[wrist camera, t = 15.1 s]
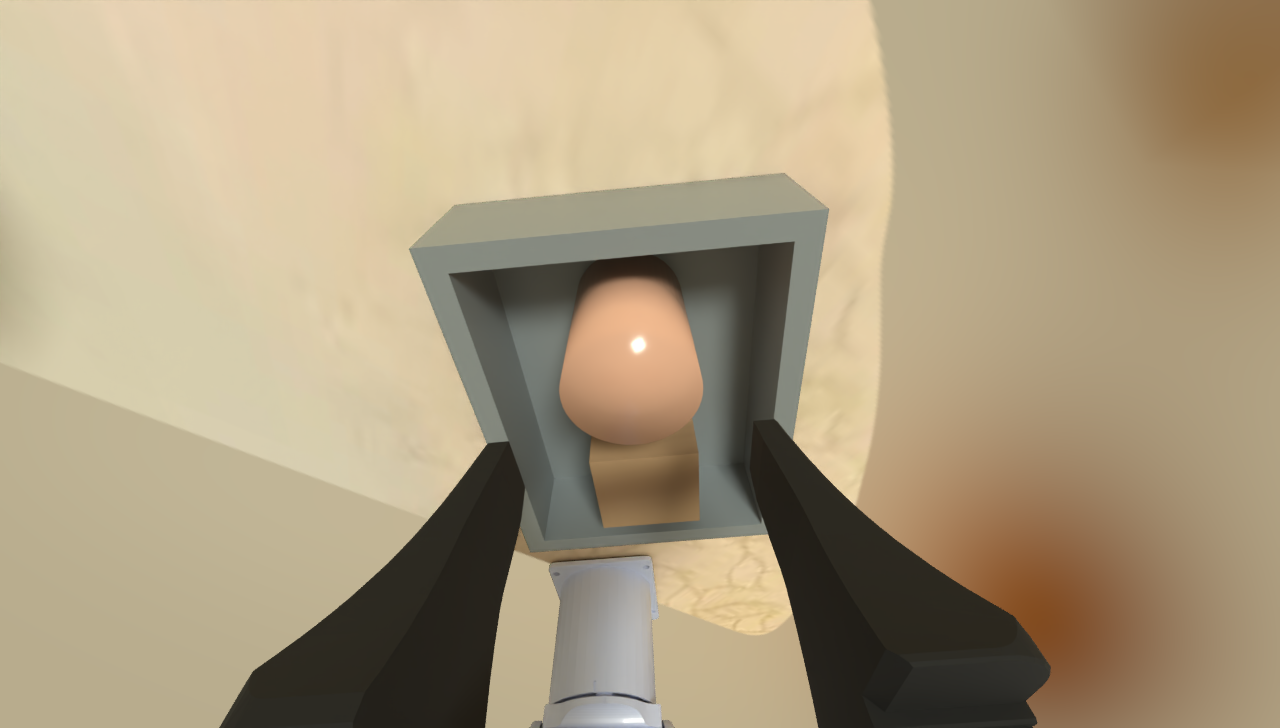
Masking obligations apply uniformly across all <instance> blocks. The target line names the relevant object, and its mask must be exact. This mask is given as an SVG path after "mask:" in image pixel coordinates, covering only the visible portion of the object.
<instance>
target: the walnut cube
mask: <svg viewBox="0 0 1280 728" xmlns="http://www.w3.org/2000/svg"><path fill="white" fill-rule="evenodd" d="M589 464H590V469H591V473H592V477H593V482H594V486H595V491H596V495H597V500H598V504H599V509H600V513H601V518H602V522H603V527H604V528H610V527H623V526H635V525H648V524H661V523H673V522H686V521H698V520H700V506H699V452H698V447H697V442H696V436H695V431H694V425H693V420H692V419H691V420H690V421H689V422H688V423H687V424H686V425H685V426H684V427H683V428H681V429H680V430H679V431H677V432H675V433H674V434H672V435H670V436H668V437H666V438H664V439H661V440H658V441H655V442H651V443H646V444H638V445H623V444H615V443H610V442H606V441H603V440H600V439H597V438H595V437H593V436H591V446H590V458H589Z"/></svg>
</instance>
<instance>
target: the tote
mask: <svg viewBox="0 0 1280 728" xmlns="http://www.w3.org/2000/svg"><path fill="white" fill-rule="evenodd" d="M828 213H829V208H827V207H826V206H825V205H824V204H822V203H821V202H820V201H819V200H817V199H816V198H815V197H814V196H812V195H811V194H810V193H809V192H807V191H806V190H805V189H804V188H802V187H801V186H800V185H799V184H797V183H796V182H795V181H794V180H792V179H791V178H790V177H789V176H787V175H786V174H785V173H781V174H771V175H761V176H750V177H740V178H730V179H719V180H709V181H699V182H688V183H678V184H668V185H657V186H647V187H637V188H626V189H616V190H606V191H596V192H585V193H575V194H565V195H554V196H544V197H534V198H523V199H513V200H503V201H492V202H482V203H472V204H461V205H454V206H453V207H452V208H451V209H450V210H449V211H448V212H447V213H446V214H445V215H444V216H443V217H442V218H441V219H440V220H439V221H437V222H436V223H435V224H434V225H433V226H432V227H431V228H430V229H429V230H428V231H427V232H426V233H425V234H424V235H423V236H422V237H421V238H420V239H419V240H418V241H417V242H415V243H414V244H413V245H412V246H411V247H410V248H409V250H410V253H411V255H412V258H413V260H414V263H415V265H416V268H417V270H418V273H419V275H420V278H421V280H422V283H423V285H424V288H425V290H426V293H427V295H428V298H429V300H430V303H431V305H432V308H433V310H434V313H435V315H436V318H437V320H438V323H439V325H440V328H441V330H442V333H443V335H444V338H445V340H446V343H447V345H448V348H449V350H450V353H451V355H452V358H453V360H454V363H455V365H456V368H457V370H458V373H459V375H460V377H461V380H462V382H463V385H464V387H465V390H466V392H467V395H468V397H469V400H470V402H471V405H472V407H473V410H474V412H475V415H476V417H477V420H478V422H479V425H480V427H481V430H482V432H483V435H484V437H485V440H486V442H487V444H488V443H493V442H505V441H509V443H510V446H511V448H512V451H513V454H514V457H515V459H516V462H517V465H518V468H519V471H520V473H521V476H522V479H523V482H524V485H525V493H524V503H523V511H522V518H521V523H520V527H521V530H522V532H523V535H524V537H525V540H526V542H527V545H528V547H529V550H530V552H544V551H557V550H570V549H583V548H596V547H609V546H622V545H635V544H648V543H661V542H674V541H687V540H700V539H713V538H726V537H739V536H752V535H765V534H768V532H767V529H766V526H765V524H764V521H763V518H762V515H761V512H760V509H759V506H758V503H757V500H756V496H755V491H754V487H753V482H752V478H751V473H750V469H749V468H750V456H751V444H752V432H753V421H757V420H769V419H775V420H776V421H777V422H778V423H779V424H780V425H781V426H782V428H783V429H784V430H785V431H786V433H787V434H788V435H789V436H790V438H791V439H792V440H793V435H794V428H795V422H796V416H797V409H798V403H799V396H800V390H801V384H802V377H803V371H804V365H805V358H806V352H807V346H808V339H809V333H810V327H811V320H812V314H813V308H814V301H815V295H816V289H817V282H818V276H819V270H820V263H821V257H822V251H823V244H824V238H825V232H826V225H827V219H828ZM643 255H654V256H656V257H658V258H659V259H661V260H662V261H664V262H665V263H666V264H667V265H668V266H669V267H670V268H671V269H672V270H673V272H674V273H675V275H676V276H677V278H678V281H679V283H680V287H681V291H682V295H683V299H684V303H685V308H686V312H687V316H688V320H689V325H690V329H691V333H692V337H693V341H694V346H695V350H696V354H697V358H698V363H699V367H700V371H701V375H702V380H703V396H702V400H701V403H700V406H699V408H698V410H697V412H696V413H695V415H694V416H693V417H692V420H693V425H694V431H695V436H696V442H697V447H698V452H699V506H700V520H698V521H686V522H673V523H661V524H648V525H635V526H623V527H610V528H604V527H603V522H602V518H601V513H600V509H599V504H598V500H597V495H596V491H595V486H594V482H593V477H592V473H591V469H590V464H589V458H590V446H591V435H589V434H587V433H586V432H584V431H582V430H581V429H580V428H579V427H577V426H576V425H575V424H574V423H573V422H572V421H571V420H570V418H569V417H568V415H567V414H566V412H565V410H564V408H563V406H562V403H561V400H560V394H559V385H560V379H561V374H562V368H563V363H564V358H565V352H566V347H567V342H568V336H569V331H570V326H571V320H572V315H573V310H574V304H575V299H576V294H577V288H578V285H579V282H580V279H581V277H582V275H583V274H584V272H585V271H586V270H587V268H588V267H589V266H590V265H591V264H592V263H594V262H595V261H596V260H600V259H611V258H622V257H632V256H643Z"/></svg>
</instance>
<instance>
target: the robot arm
mask: <svg viewBox="0 0 1280 728" xmlns="http://www.w3.org/2000/svg"><path fill="white" fill-rule="evenodd" d="M749 469H750V473H751V478H752V482H753V487H754V491H755V496H756V500H757V503H758V506H759V509H760V512H761V515H762V518H763V521H764V524H765V526H766V529H767V532H768V535H769V538H770V541H771V543H772V546H773V549H774V552H775V555H776V558H777V561H778V563H779V566H780V569H781V572H782V575H783V578H784V582H785V585H786V588H787V592H788V596H789V600H790V604H791V608H792V612H793V616H794V620H795V624H796V628H797V632H798V637H799V641H800V645H801V650H802V654H803V658H804V662H805V667H806V671H807V676H808V680H809V685H810V689H811V694H812V699H813V703H814V708H815V713H816V718H817V723H818V727H819V728H1033V727H1032V726H1035V725H1036V724H1037V720H1036V717H1035V716H1034V714H1033V712H1032V711H1031V709H1030V707H1029V706H1028V704H1027V702H1026V700H1027V699H1028V698H1029V697H1030V696H1032V695H1033V694H1034V693H1035V692H1036V691H1037V690H1038V689H1039V688H1040V687H1042V686H1043V684H1044V683H1045V682H1046V681H1047V680H1048V678H1049V676H1050V669H1051V667H1050V665H1049V664H1048V662H1047V661H1046V659H1045V658H1044V656H1043V655H1042V653H1041V652H1040V651H1039V649H1038V648H1037V646H1036V644H1035V643H1034V642H1033V640H1032V639H1031V637H1030V636H1029V635H1028V633H1027V632H1026V631H1025V630H1024V628H1022V626H1021V625H1020V624H1019V622H1018V621H1017V620H1016V618H1015V617H1014V616H1013V615H1010V614H1009V613H1008V612H1006V611H1004V610H1002V609H1001V608H999V607H997V606H996V605H994V604H992V603H990V602H989V601H987V600H985V599H984V598H982V597H980V596H979V595H977V594H975V593H973V592H972V591H970V590H968V589H966V588H965V587H963V586H962V585H960V584H959V583H957V582H956V581H954V580H952V579H951V578H949V577H948V576H946V575H945V574H943V573H942V572H940V571H939V570H937V569H936V568H934V567H932V566H931V565H930V564H928V563H927V562H926V561H924V560H923V559H922V558H920V557H919V556H917V555H916V554H914V553H913V552H912V551H910V550H909V549H907V548H906V547H905V546H903V545H902V544H901V543H899V542H898V541H897V540H895V539H894V538H893V537H892V536H890V535H889V534H888V533H887V532H885V531H884V530H883V529H882V528H880V527H879V526H878V525H877V524H876V523H874V522H873V521H872V520H871V519H869V518H868V517H867V516H866V515H865V514H864V513H863V512H862V511H860V510H859V509H858V508H857V507H856V506H855V505H854V504H853V503H852V502H850V501H849V500H848V499H847V498H846V497H845V496H844V495H843V494H842V493H841V492H840V491H839V490H838V489H837V488H836V487H835V486H834V485H833V484H832V483H831V482H830V481H829V480H828V479H827V478H826V477H825V476H824V475H823V474H822V473H821V472H820V471H819V469H818V468H817V467H816V466H815V465H814V464H813V463H812V462H811V461H810V460H809V459H808V457H807V456H806V455H805V454H804V453H803V452H802V451H801V449H800V448H799V447H798V446H797V445H796V444H795V442H794V441H793V440H792V439H791V438H790V436H789V435H788V434H787V433H786V431H785V430H784V429H783V428H782V426H781V425H780V424H779V423H778V422H777V421H776V420H775V419H769V420H757V421H753V432H752V444H751V456H750V468H749ZM524 493H525V485H524V482H523V479H522V476H521V473H520V471H519V468H518V465H517V462H516V459H515V457H514V454H513V451H512V448H511V446H510V443H509V441H505V442H493V443H488V444H487V445H486V447H485V448H484V449H483V451H482V452H481V453H480V455H479V456H478V457H477V459H476V460H475V461H474V463H473V464H472V465H471V467H470V468H469V469H468V471H467V472H466V473H465V475H464V476H463V477H462V479H461V480H460V481H459V483H458V484H457V485H456V487H455V488H454V489H453V490H452V492H451V493H450V494H449V495H448V497H447V498H446V499H445V501H444V502H443V503H442V504H441V506H440V507H439V508H438V509H437V510H436V511H435V513H434V514H433V515H432V516H431V517H430V518H429V520H428V521H427V522H426V523H425V524H424V525H423V527H422V528H421V529H420V530H419V531H418V532H417V534H416V535H415V536H414V537H413V538H412V539H411V540H410V541H409V542H408V543H407V544H406V545H405V546H404V547H403V549H402V550H401V551H400V552H399V553H398V554H397V555H396V556H395V557H394V558H393V559H392V560H391V561H390V562H389V563H388V564H387V565H386V566H385V567H383V568H382V569H381V570H380V571H379V572H378V573H377V574H376V575H375V576H374V577H373V578H371V579H370V580H369V581H368V582H367V583H366V584H365V585H364V586H363V587H361V588H360V589H359V590H358V591H357V592H356V593H355V594H354V595H353V596H351V597H350V598H349V599H348V600H347V601H346V602H344V603H343V604H342V605H341V606H339V607H338V608H337V609H336V610H335V611H333V612H332V613H331V614H330V615H328V616H327V617H326V618H325V619H323V620H322V621H321V622H320V623H318V624H317V625H316V626H315V627H313V628H312V629H311V630H309V631H308V632H307V633H305V634H304V635H303V636H301V637H300V638H299V639H297V640H296V641H295V642H293V643H292V644H290V645H289V646H288V647H286V648H285V649H284V650H282V651H281V652H279V653H278V654H277V655H275V656H274V657H272V658H271V659H270V660H268V661H267V662H266V663H264V664H263V665H261V666H260V667H258V668H257V669H255V670H254V671H253V672H252V674H251V675H250V677H249V679H248V680H247V682H246V684H245V685H244V687H243V689H242V690H241V692H240V694H239V695H238V697H237V699H236V700H235V702H234V704H233V705H232V707H231V709H230V711H229V712H228V714H227V716H226V717H225V719H224V721H223V723H222V724H221V726H220V727H219V728H485V723H486V712H487V703H488V695H489V685H490V676H491V668H492V661H493V653H494V646H495V639H496V632H497V625H498V619H499V612H500V606H501V602H502V596H503V592H504V588H505V584H506V580H507V576H508V572H509V568H510V564H511V560H512V556H513V552H514V548H515V544H516V540H517V536H518V532H519V528H520V523H521V518H522V511H523V503H524ZM549 572H550V575H551V577H552V580H553V582H554V585H555V588H556V591H557V593H558V596H559V599H560V608H559V617H558V626H557V635H556V644H555V652H554V661H553V670H552V678H551V687H550V696H549V704H546V705H545V709H544V717H543V723H542V721H534V722H533V723H532V724H531V727H529V728H675V727H674V726H673V724H672V722H671V721H669V720H662V717H661V705H660V704H656V697H655V676H654V655H653V635H652V620H653V619H657V618H658V617H659V612H658V604H657V596H656V588H655V580H654V572H653V564H652V558H651V557H650V556H634V557H621V558H607V559H594V560H581V561H568V562H555V563H552V564H550V565H549Z"/></svg>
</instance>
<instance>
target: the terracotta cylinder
mask: <svg viewBox="0 0 1280 728" xmlns="http://www.w3.org/2000/svg"><path fill="white" fill-rule="evenodd" d="M559 394H560V400H561V403H562V406H563V408H564V410H565V412H566V414H567V415H568V417H569V418H570V420H571V421H572V422H573V423H574V424H575V425H576V426H577V427H579V428H580V429H581V430H582V431H584V432H586V433H587V434H589V435H591V436H593V437H595V438H597V439H600V440H603V441H606V442H610V443H615V444H623V445H638V444H646V443H651V442H655V441H658V440H661V439H664V438H666V437H668V436H670V435H672V434H674V433H675V432H677V431H679V430H680V429H681V428H683V427H684V426H685V425H686V424H687V423H688V422H689V421H690V420H691V419H692V417H693V416H694V415H695V413H696V412H697V410H698V408H699V406H700V403H701V400H702V396H703V380H702V375H701V371H700V367H699V363H698V358H697V354H696V350H695V346H694V341H693V337H692V333H691V329H690V325H689V320H688V316H687V312H686V308H685V303H684V299H683V295H682V291H681V287H680V283H679V281H678V278H677V276H676V275H675V273H674V272H673V270H672V269H671V268H670V267H669V266H668V265H667V264H666V263H665V262H664V261H662V260H661V259H659V258H658V257H656V256H654V255H643V256H632V257H622V258H611V259H600V260H596V261H595V262H594V263H592V264H591V265H590V266H589V267H588V268H587V270H586V271H585V272H584V274H583V275H582V277H581V279H580V282H579V285H578V288H577V294H576V299H575V304H574V310H573V315H572V320H571V326H570V331H569V336H568V342H567V347H566V352H565V358H564V363H563V368H562V374H561V379H560V385H559Z"/></svg>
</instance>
